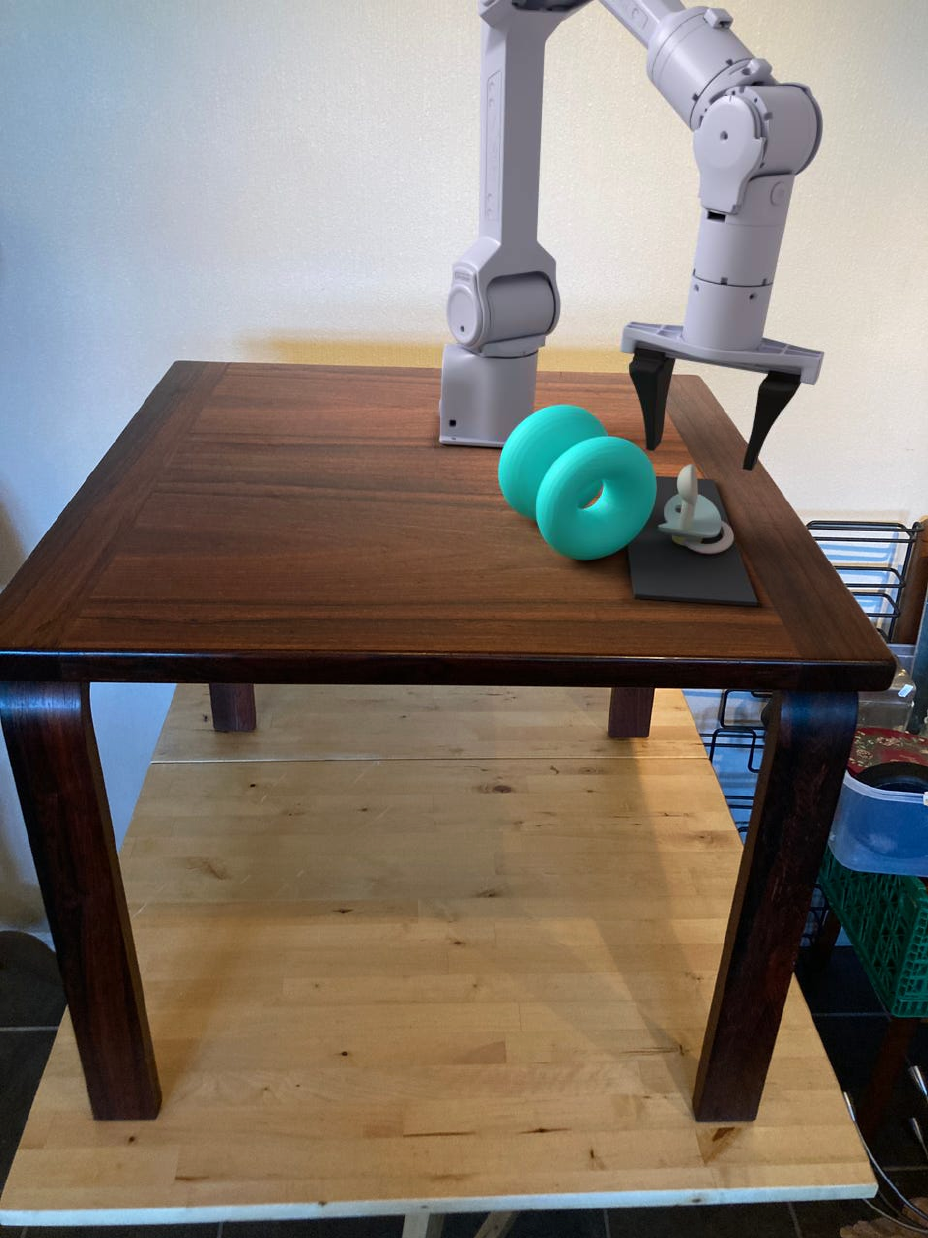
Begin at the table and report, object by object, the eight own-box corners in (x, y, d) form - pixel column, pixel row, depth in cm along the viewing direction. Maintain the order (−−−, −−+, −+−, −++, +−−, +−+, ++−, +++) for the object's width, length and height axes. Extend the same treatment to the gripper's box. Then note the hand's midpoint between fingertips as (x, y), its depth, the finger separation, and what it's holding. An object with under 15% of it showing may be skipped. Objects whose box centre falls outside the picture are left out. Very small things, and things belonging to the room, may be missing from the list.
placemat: (634, 598, 72) (634, 593, 72) (615, 477, 91) (616, 473, 90) (756, 606, 72) (757, 602, 71) (712, 483, 90) (713, 479, 90)
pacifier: (735, 527, 82) (664, 513, 83) (752, 458, 79) (678, 445, 80) (728, 567, 76) (651, 551, 77) (745, 494, 73) (665, 479, 74)
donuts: (593, 504, 85) (606, 394, 80) (653, 556, 78) (673, 438, 72) (489, 519, 82) (496, 405, 77) (541, 575, 74) (553, 453, 69)
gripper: (845, 279, 70) (803, 456, 77) (649, 253, 75) (627, 422, 82) (831, 301, 64) (787, 489, 72) (621, 271, 69) (600, 450, 77)
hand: (700, 455), depth 76 cm, fingers open, 7 cm apart
